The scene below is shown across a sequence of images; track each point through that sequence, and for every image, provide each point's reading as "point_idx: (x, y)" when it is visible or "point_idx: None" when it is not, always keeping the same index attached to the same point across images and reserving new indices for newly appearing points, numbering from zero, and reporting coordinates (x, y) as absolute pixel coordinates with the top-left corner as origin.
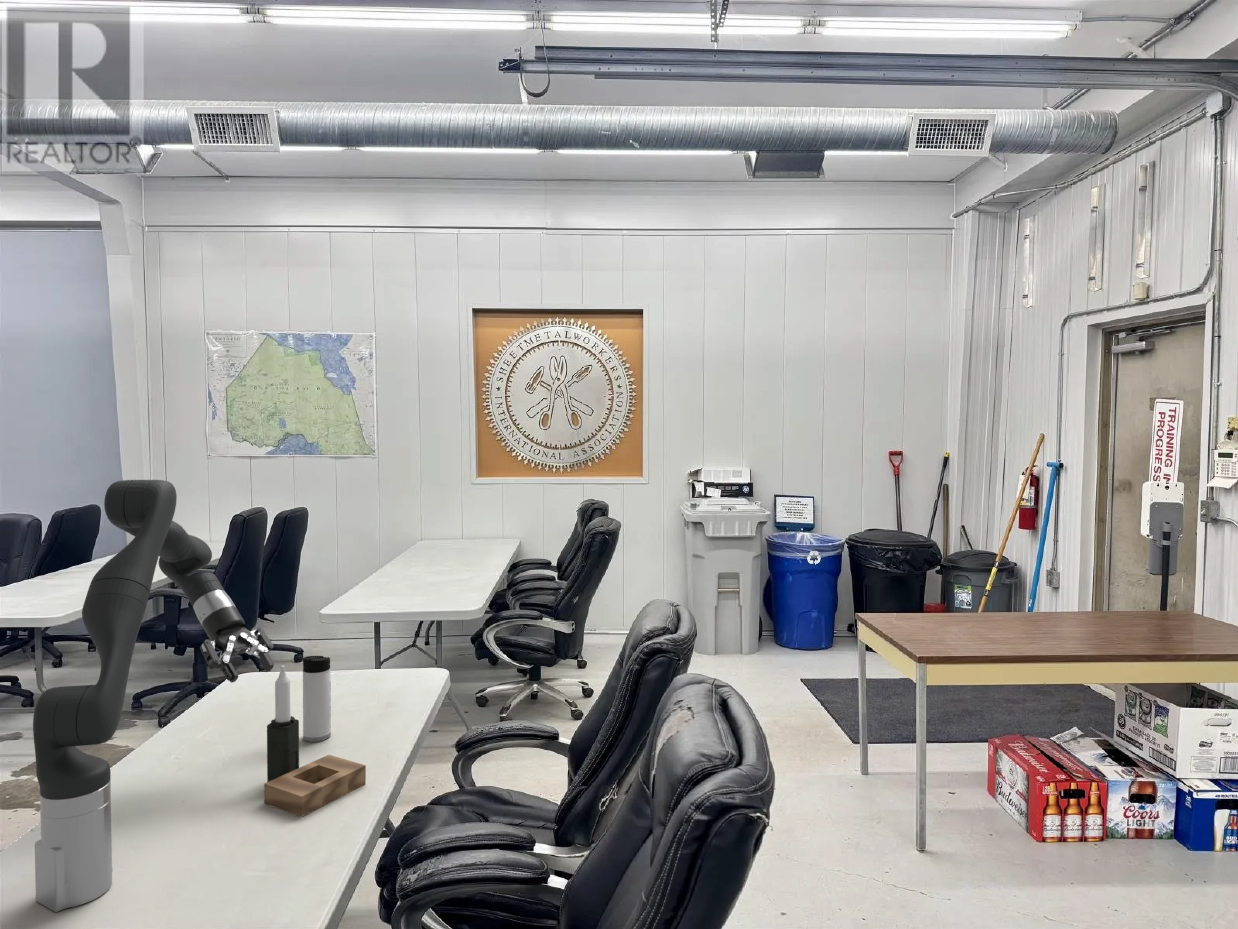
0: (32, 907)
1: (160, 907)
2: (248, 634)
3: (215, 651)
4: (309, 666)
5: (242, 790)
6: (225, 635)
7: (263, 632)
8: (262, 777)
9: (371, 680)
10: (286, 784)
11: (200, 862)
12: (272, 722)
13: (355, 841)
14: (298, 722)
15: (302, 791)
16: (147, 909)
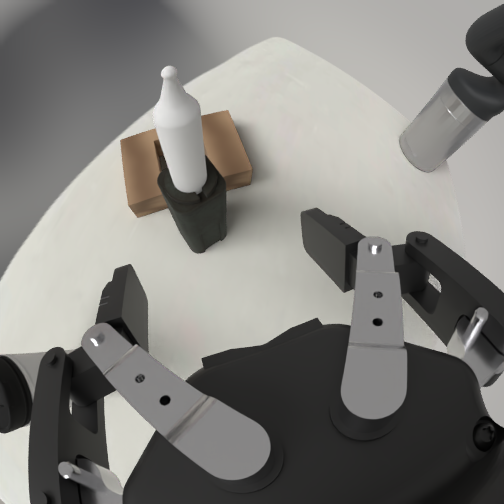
0: None
1: (365, 94)
2: (154, 487)
3: (451, 276)
4: (12, 379)
5: (260, 246)
6: (425, 441)
7: (34, 465)
8: (219, 273)
9: (2, 480)
10: (228, 147)
11: (337, 120)
12: (215, 176)
13: (211, 71)
14: (161, 171)
15: (221, 119)
16: (372, 98)
